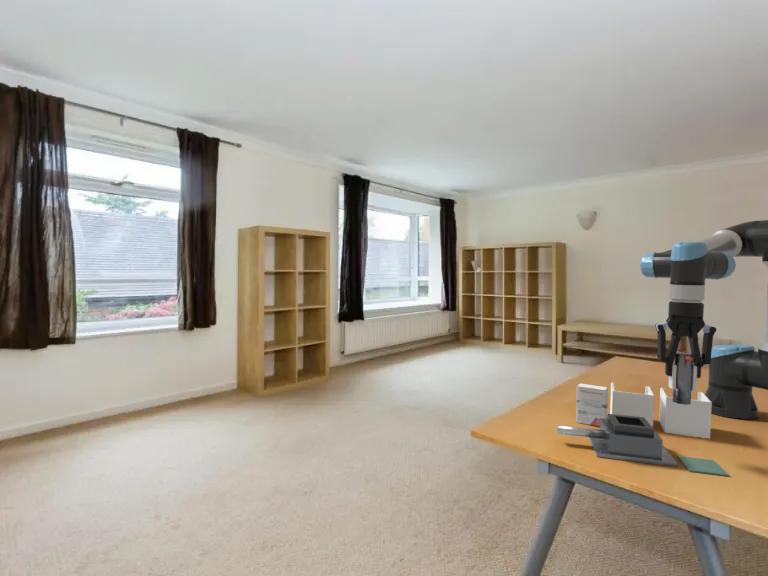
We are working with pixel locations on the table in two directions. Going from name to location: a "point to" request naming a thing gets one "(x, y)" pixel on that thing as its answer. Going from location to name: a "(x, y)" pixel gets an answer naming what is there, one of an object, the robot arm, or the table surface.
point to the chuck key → (683, 378)
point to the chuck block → (624, 440)
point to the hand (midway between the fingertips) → (682, 388)
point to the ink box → (591, 404)
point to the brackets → (665, 411)
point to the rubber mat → (702, 466)
